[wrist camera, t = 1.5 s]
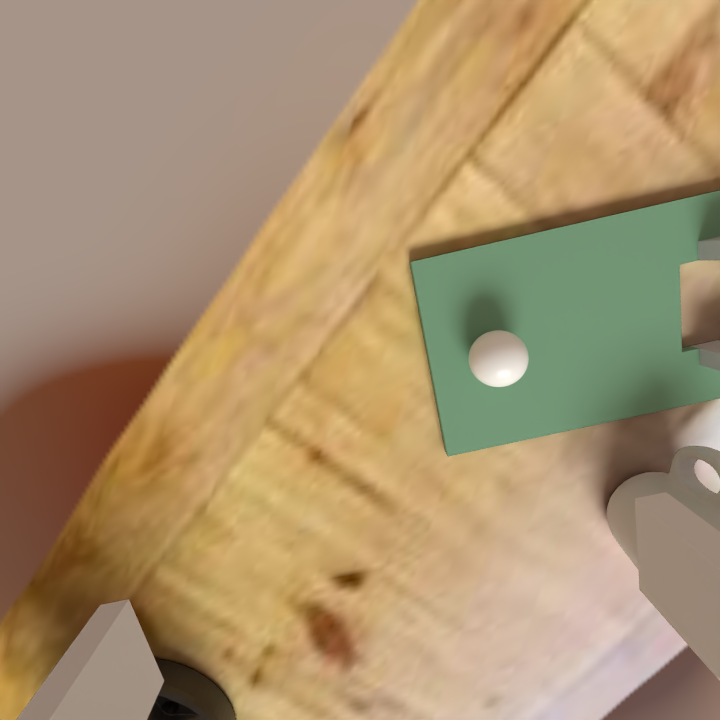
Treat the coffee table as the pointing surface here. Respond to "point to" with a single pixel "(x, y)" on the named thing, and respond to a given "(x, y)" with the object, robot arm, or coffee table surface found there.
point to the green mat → (567, 324)
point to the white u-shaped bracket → (716, 352)
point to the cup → (675, 483)
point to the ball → (498, 358)
